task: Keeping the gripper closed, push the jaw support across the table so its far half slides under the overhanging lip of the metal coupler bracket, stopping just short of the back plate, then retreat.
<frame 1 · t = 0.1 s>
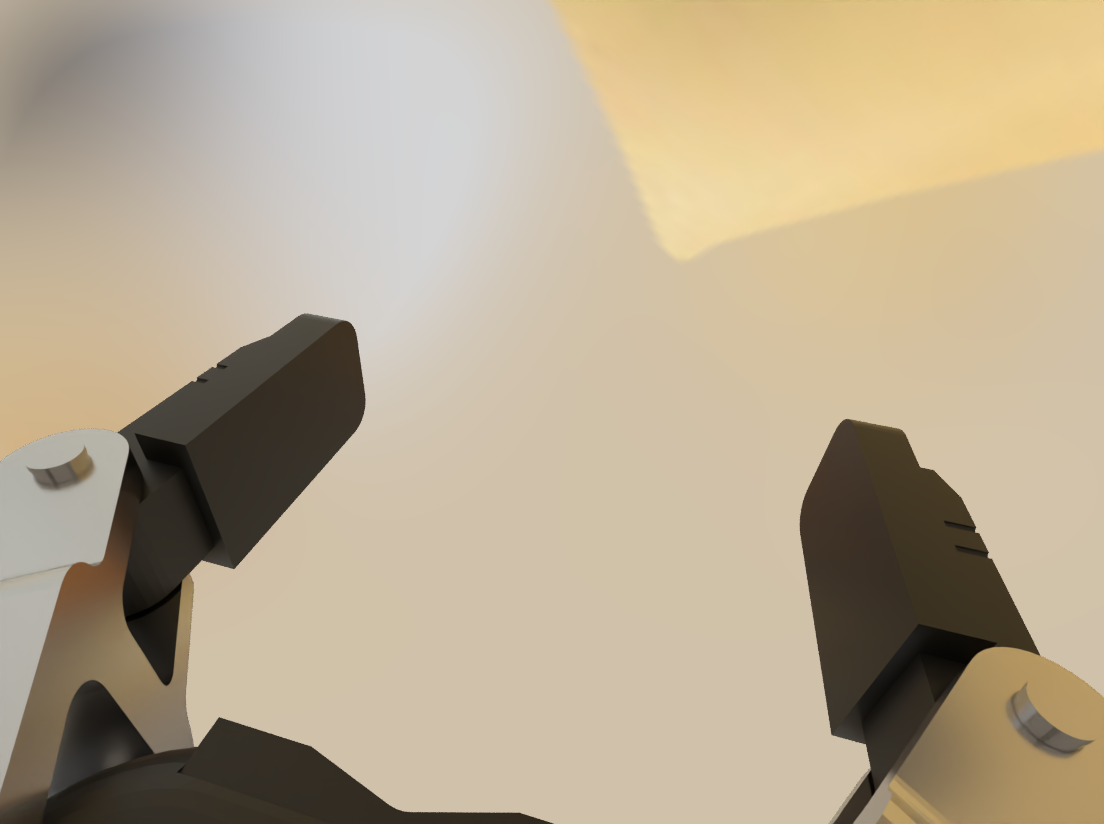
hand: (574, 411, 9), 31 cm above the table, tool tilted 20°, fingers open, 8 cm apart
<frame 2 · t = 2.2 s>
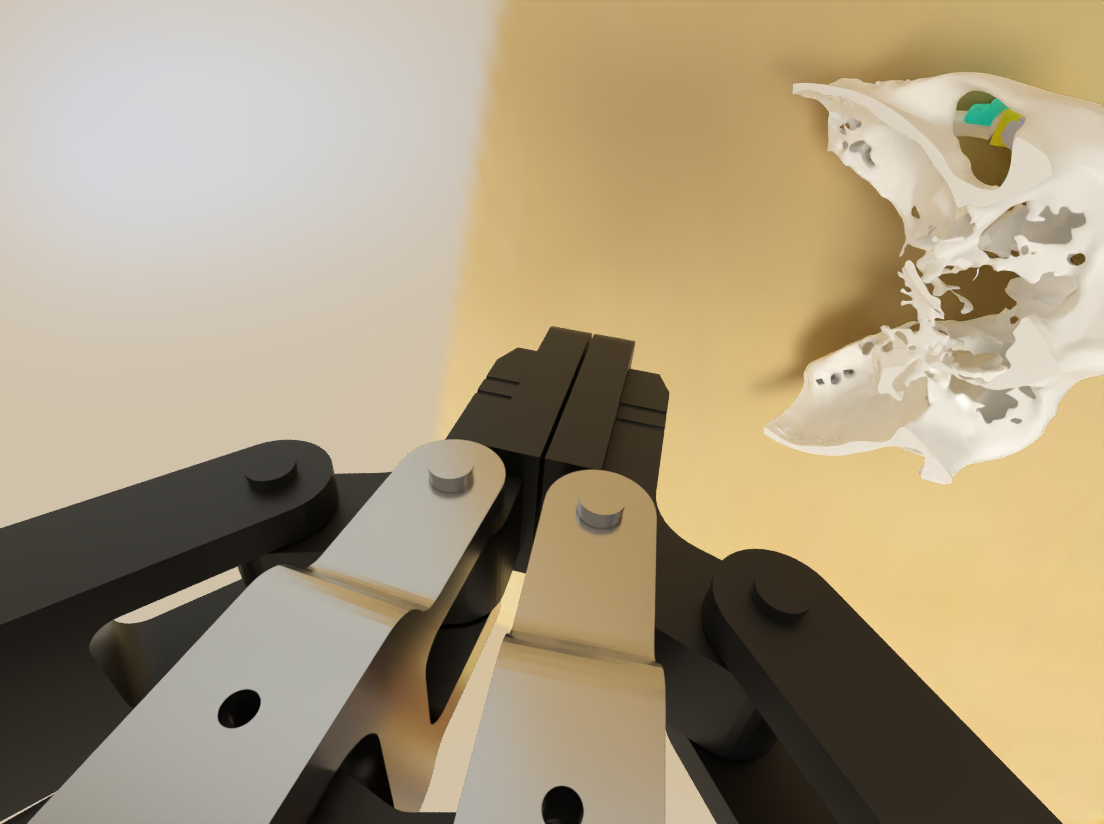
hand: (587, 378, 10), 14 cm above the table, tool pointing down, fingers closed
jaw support: (954, 240, 20), on the table
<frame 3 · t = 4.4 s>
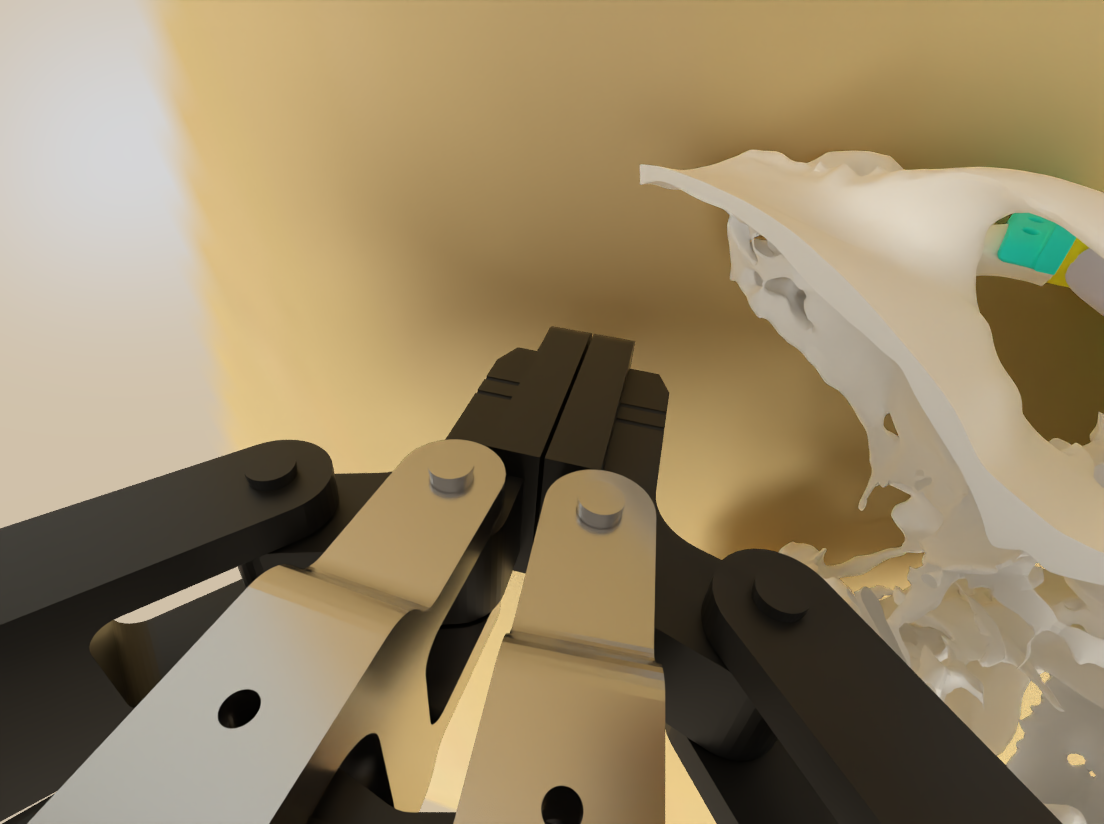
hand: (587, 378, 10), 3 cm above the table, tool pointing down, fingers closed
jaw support: (962, 411, 12), on the table, touching gripper
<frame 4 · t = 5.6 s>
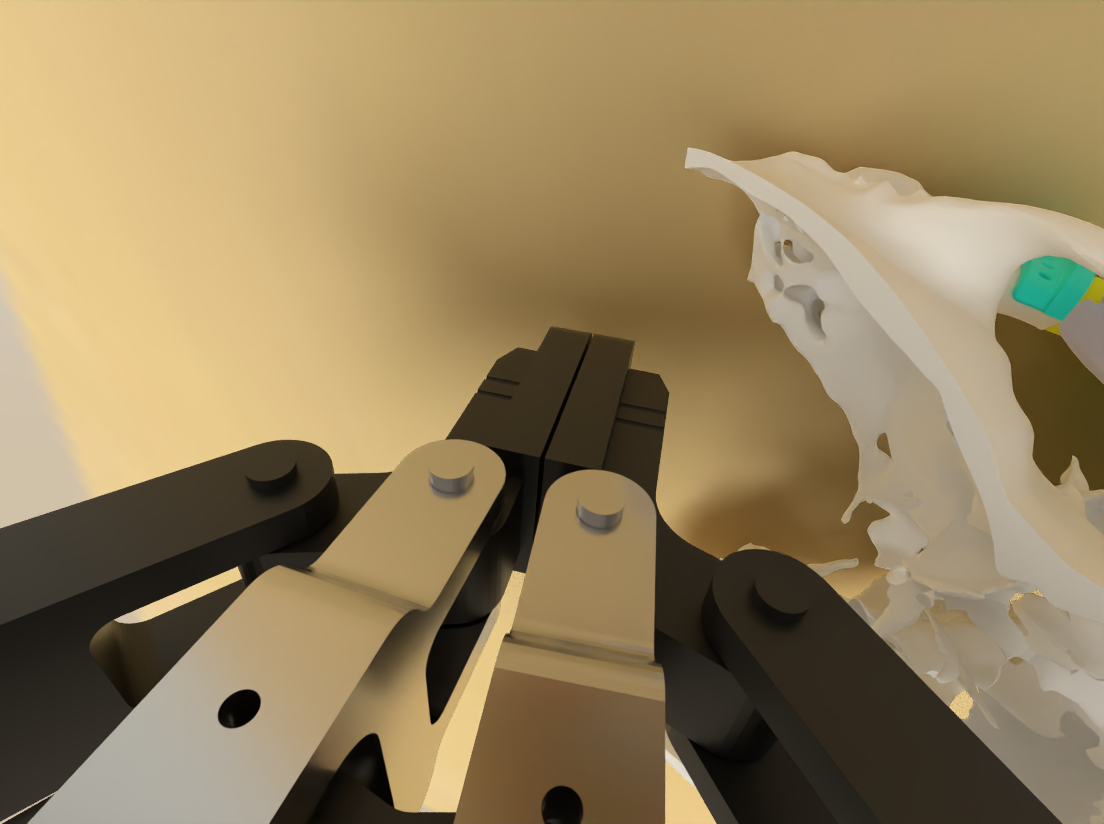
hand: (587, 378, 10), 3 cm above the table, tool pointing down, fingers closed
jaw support: (930, 438, 12), on the table, touching gripper
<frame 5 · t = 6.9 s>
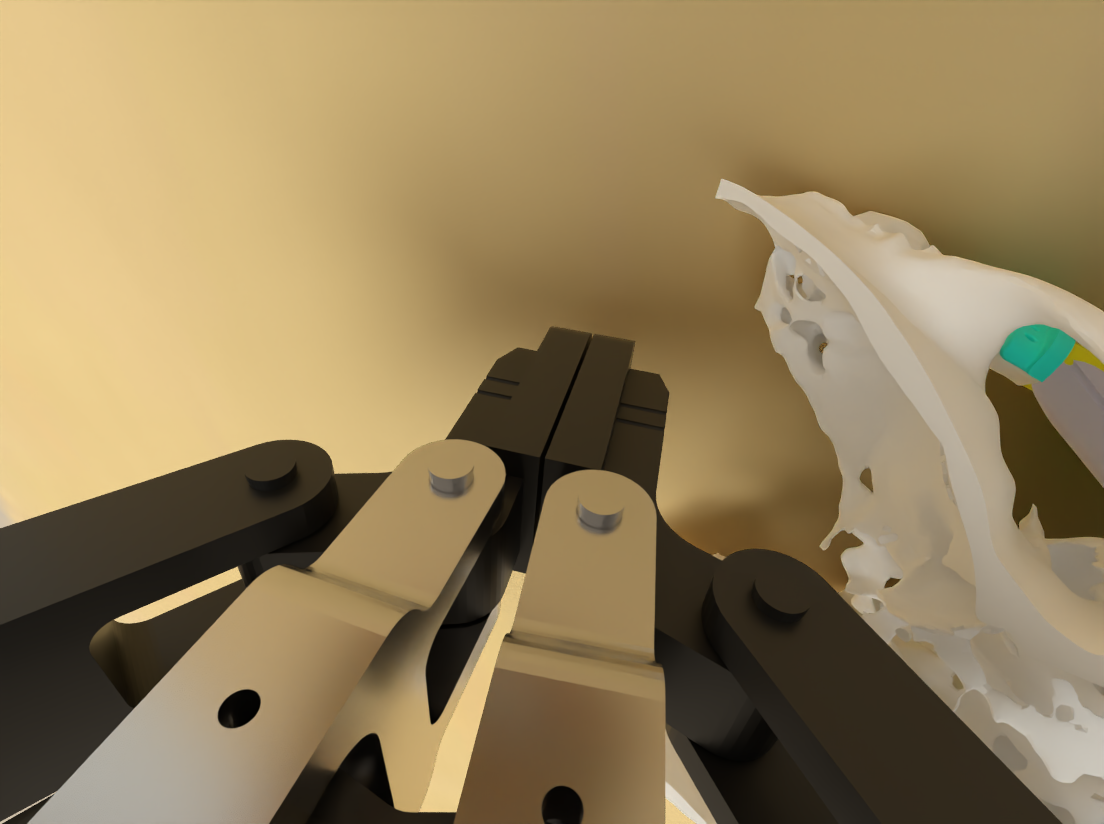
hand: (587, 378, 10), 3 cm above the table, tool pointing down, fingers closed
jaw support: (897, 469, 13), on the table, touching gripper
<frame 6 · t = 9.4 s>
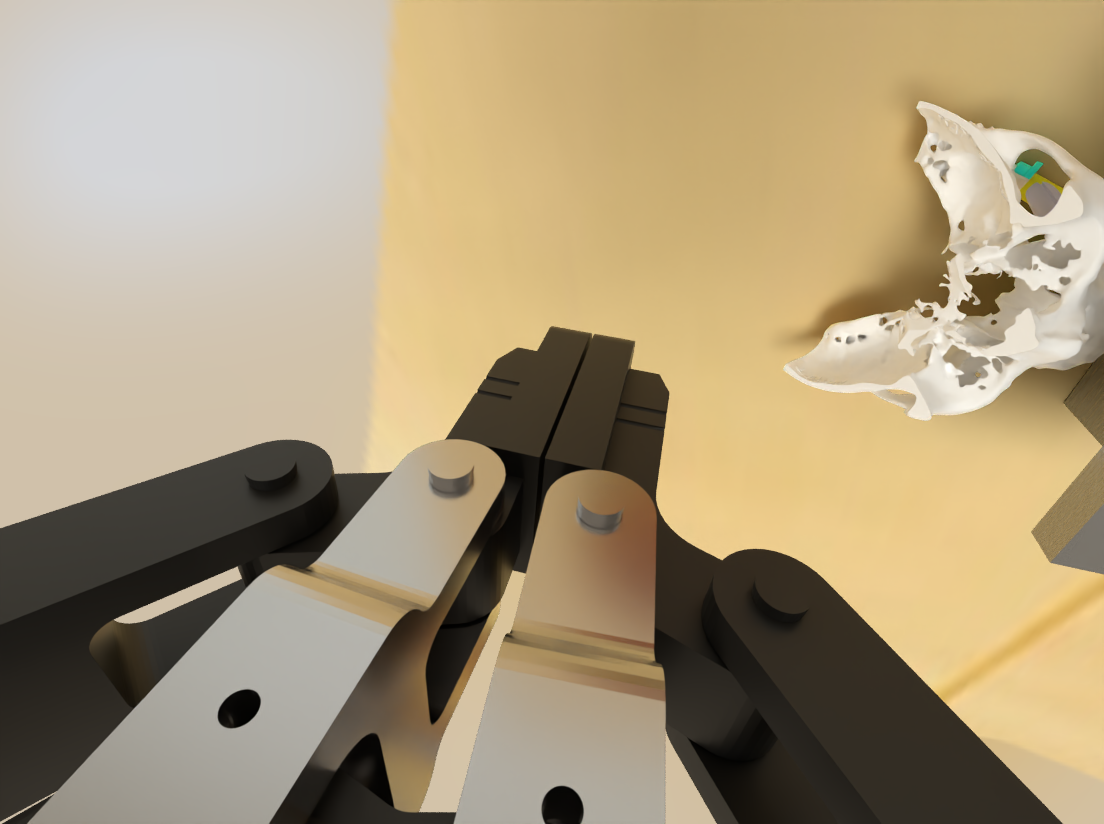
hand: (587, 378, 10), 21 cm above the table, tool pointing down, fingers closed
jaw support: (959, 261, 27), on the table
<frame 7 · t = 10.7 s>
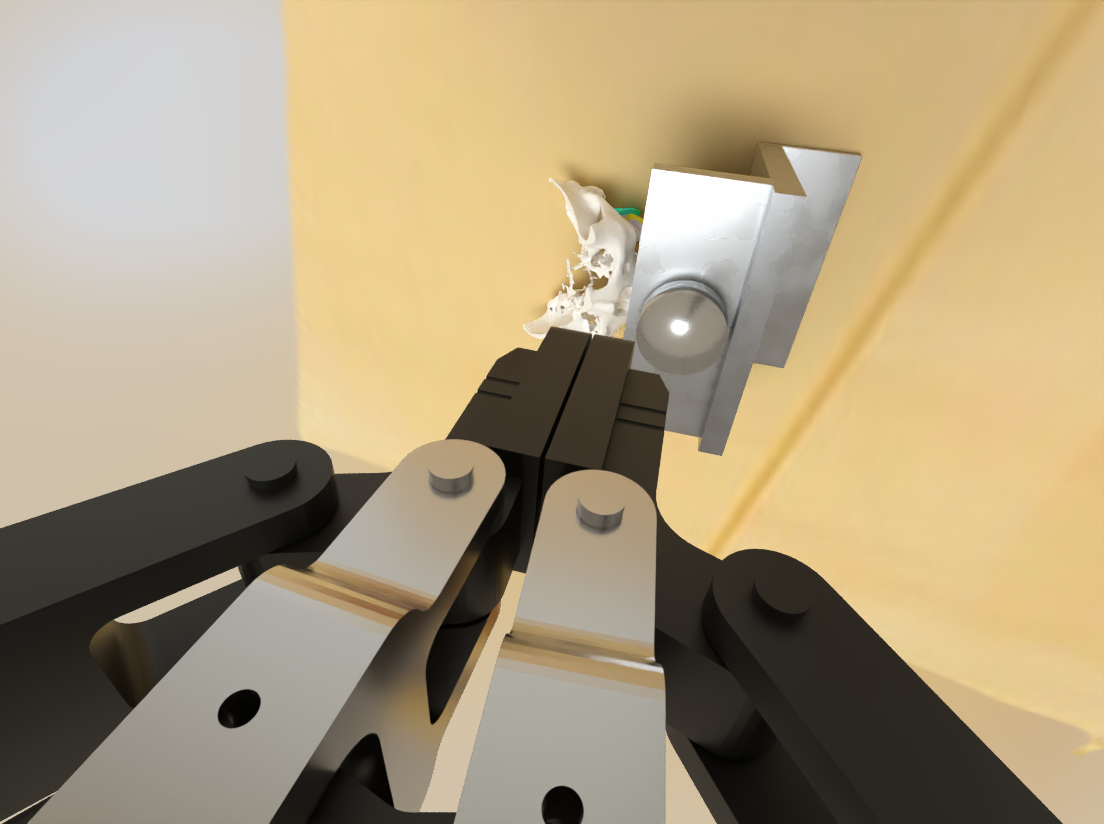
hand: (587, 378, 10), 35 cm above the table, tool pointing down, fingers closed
coupler bracket: (737, 258, 43), on the table
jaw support: (620, 262, 45), on the table
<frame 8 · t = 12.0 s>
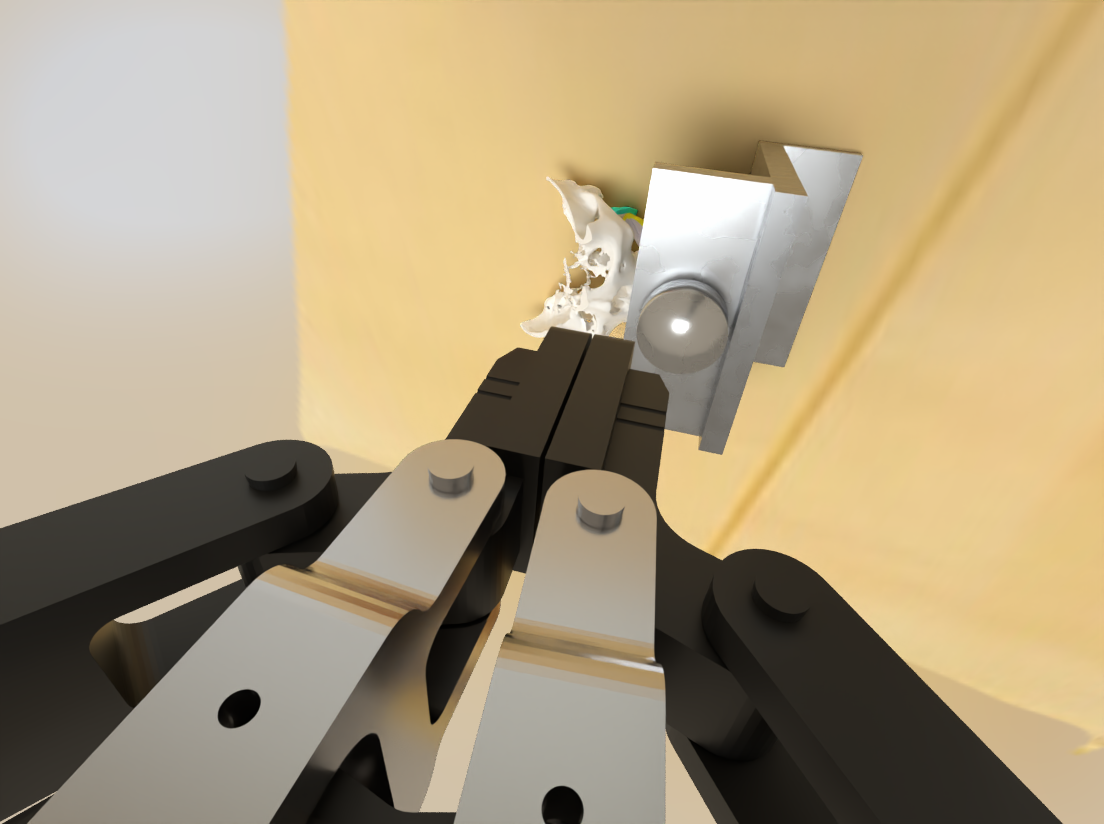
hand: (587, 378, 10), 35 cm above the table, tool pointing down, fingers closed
coupler bracket: (738, 257, 43), on the table
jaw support: (617, 261, 45), on the table
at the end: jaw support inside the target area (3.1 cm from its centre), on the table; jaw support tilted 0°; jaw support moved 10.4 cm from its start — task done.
